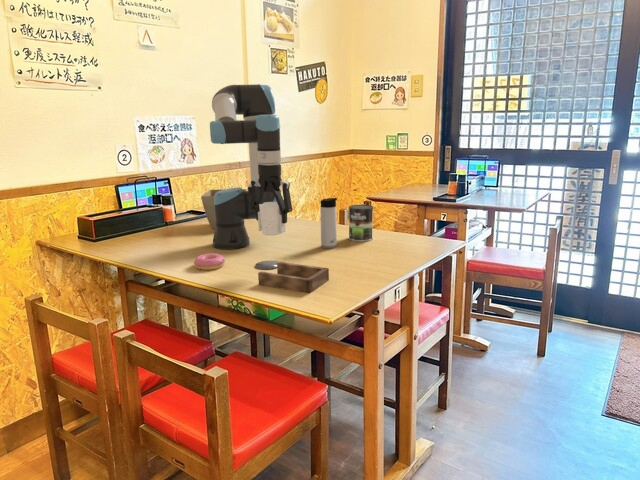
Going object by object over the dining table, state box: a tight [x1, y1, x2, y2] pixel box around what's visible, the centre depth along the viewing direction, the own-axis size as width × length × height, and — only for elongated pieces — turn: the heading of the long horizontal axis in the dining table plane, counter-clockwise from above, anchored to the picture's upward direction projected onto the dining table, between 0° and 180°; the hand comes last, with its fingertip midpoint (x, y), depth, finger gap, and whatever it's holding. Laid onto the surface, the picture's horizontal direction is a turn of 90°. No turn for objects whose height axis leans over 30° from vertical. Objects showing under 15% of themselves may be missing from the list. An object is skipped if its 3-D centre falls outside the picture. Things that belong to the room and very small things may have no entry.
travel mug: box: [320, 197, 338, 250], centre depth 197 cm, size 6×7×20 cm
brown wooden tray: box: [257, 261, 330, 294], centre depth 157 cm, size 18×13×4 cm
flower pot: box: [200, 188, 248, 230], centre depth 237 cm, size 19×19×17 cm
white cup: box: [259, 202, 281, 237], centre depth 165 cm, size 8×8×10 cm
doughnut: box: [193, 252, 226, 271], centre depth 176 cm, size 11×11×4 cm
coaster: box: [255, 260, 279, 271], centre depth 176 cm, size 9×9×1 cm
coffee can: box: [348, 204, 374, 243], centre depth 209 cm, size 10×10×14 cm
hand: (272, 231), depth 166 cm, fingers closed on white cup, 7 cm apart
